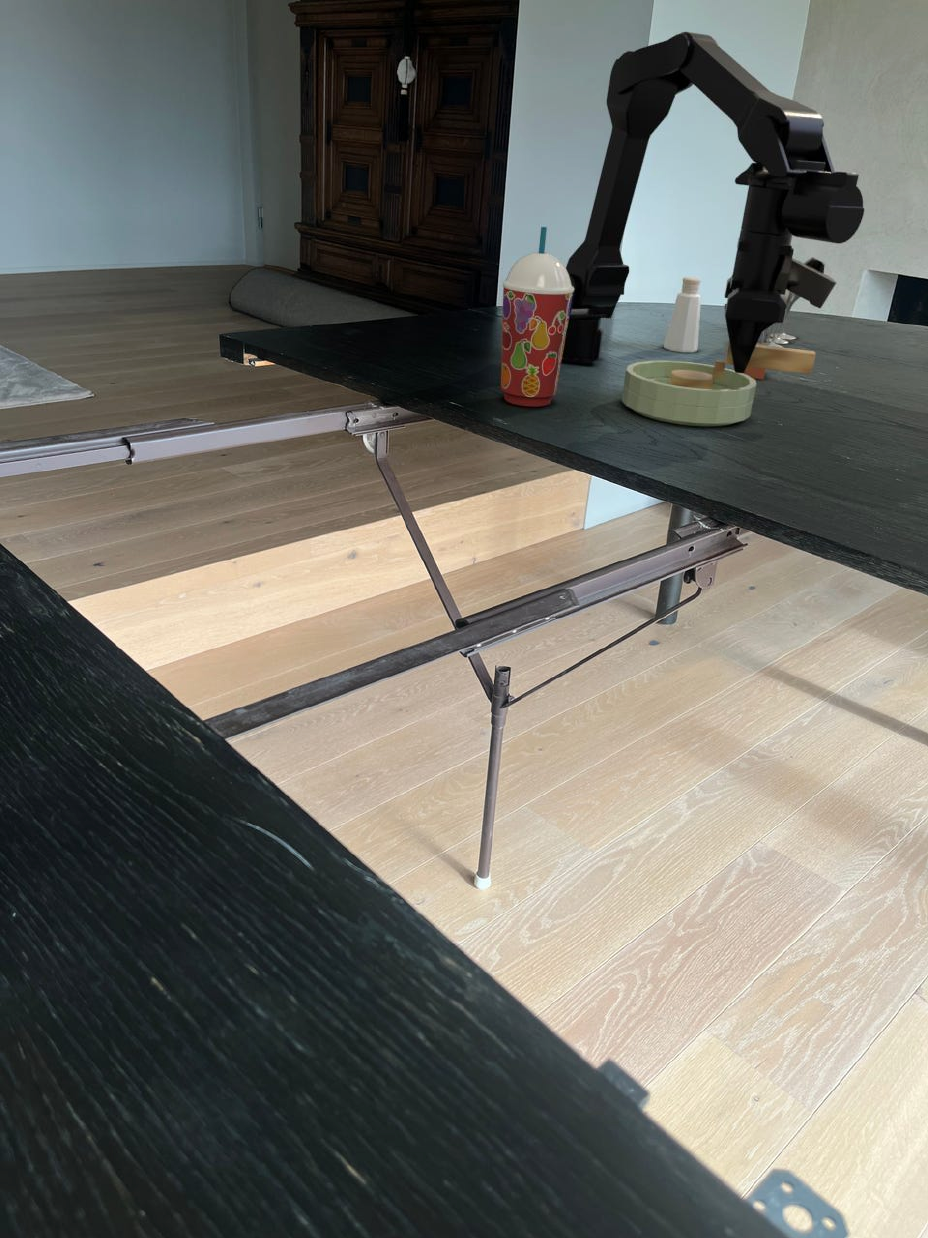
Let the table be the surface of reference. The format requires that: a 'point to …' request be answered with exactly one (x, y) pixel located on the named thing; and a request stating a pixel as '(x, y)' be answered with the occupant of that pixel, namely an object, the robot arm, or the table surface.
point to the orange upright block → (755, 370)
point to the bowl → (687, 394)
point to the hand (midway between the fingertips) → (739, 370)
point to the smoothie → (534, 327)
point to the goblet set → (777, 338)
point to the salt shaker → (685, 318)
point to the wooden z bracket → (749, 365)
